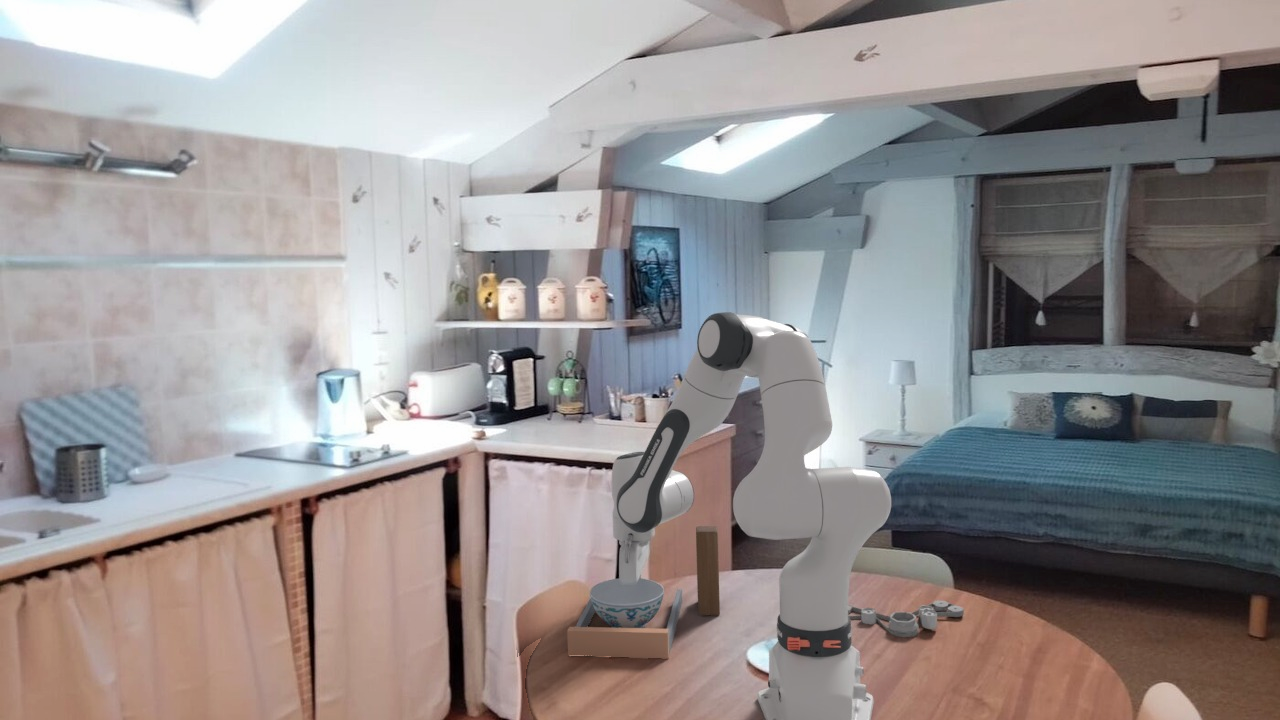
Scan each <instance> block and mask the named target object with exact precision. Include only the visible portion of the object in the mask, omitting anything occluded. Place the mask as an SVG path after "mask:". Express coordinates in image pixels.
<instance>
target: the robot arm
mask: <svg viewBox="0 0 1280 720" xmlns="http://www.w3.org/2000/svg"><path fill="white" fill-rule="evenodd" d="M696 341H697V342H696V343H697V347H696V348H697V349H696V350H695V351H694V354H693V356H692V358H691V360H690V362H689V363H688V366H687V368H686V371H685V374H684V375H683V379H682V381H681V383H680V385H679V387H678V390H677V391H676V394H675V396H674V398H673V400H672V403H671V404H670V406H669V408H668V409H667V411H666V412H665V414H664V416H663V417H662V419H661V421H660V423H659V424H658V426H657V427H656V429H655V431H654V433H653V434H652V437H651V439H650V441H649V442H648V445H647V446H646V448H645V450H644V451H634V452H629V453H626V454H622V455H619V456H618V457H616V458H615V459H614V461H613V464H612V470H611V496H612V499H613V510H612V534H613V535H612V536H613V539H616V540H618V541H619V545H620V548H619V552H618V553H619V555H618V575H619V576H618V578H619V580H620V584H622V585H636V584H637V582H638V580H639V578H642V572H643V570H644V568H645V565H646V563H647V561H648V558H649V556H650V552H651V539H652V538H654V537H655V535H656V531H655V528H656V527H658V526H659V525H661V524H663V523H664V524H665V523H666V522H669V521H671V520H673V519H675V518H677V517H680V516H682V515H684V514H685V513H687V512H689V510H690V509H691V508H692V507H693V505H694V501H695V490H694V487H693V484H692V482H691V480H690V478H689V477H688V476H687V475H686V474H685V473H683V472H681V471H678V470H673V469H674V467H675V465H676V463H677V461H678V459H679V457H680V456H681V455H682V453H683V452H684V451H685V450H686V449H687V448H688V447H689V446H691V444H692V443H694V442H695V441H697V440H698V439H700V438H701V437H703V436H705V435H706V434H708V433H710V432H712V431H713V430H715V429H716V428H719V427H720V426H721V425H722V424H723V422H724V421H725V420H726V418H727V417H728V416H729V414H730V413H731V411H732V409H733V407H734V404H735V402H736V400H737V399H738V398H737V397H738V395H739V393H740V390H741V387H742V384H743V381H744V380H745V378H746V377H749V378H754V379H755V378H756V379H758V382H759V391H760V398H761V406H762V412H763V421H764V425H763V426H764V444H763V445H764V446H763V449H762V452H761V455H760V458H759V460H758V462H757V463H756V465H755V466H754V468H753V469H752V470H751V472H749V473H748V474H746V476H745V477H744V478H743V479H742V480H741V481H740V482H739V484H738V485H737V487H736V489H735V491H734V495H733V500H732V509H733V510H732V511H733V515H734V518H735V520H736V523H737V525H738V527H739V528H740V529H741V530H742V531H743V532H744V533H745V534H746V535H747V536H749V537H753V538H758V539H759V538H760V539H765V540H775V541H777V540H779V541H780V540H791V539H793V540H794V539H805V538H811V540H810V542H809V544H808V545H807V547H806V548H805V549H804V550H802V551H801V553H799V554H797V555H796V556H794V557H793V558H791V559H789V560H788V561H787V562H786V563H785V565H784V566H783V568H782V569H781V571H780V573H779V574H780V575H779V578H778V579H779V583H778V584H779V585H778V586H779V589H778V590H779V592H778V593H779V614H778V616H777V618H776V619H777V622H776V632H777V635H776V636H777V641H776V643H775V644H774V645H773V646H772V647H771V648H770V649H769V650H768V681H767V686H768V687H767V688H764V689H761V690H759V691H758V693H757V701H758V703H759V707H760V708H761V712H762V713H763V717H764V719H765V720H872V716H873V715H872V714H873V710H874V709H873V708H874V704H875V702H874V696H873V695H872V694H870V693H869V692H867V684H864V683H861V677H863V676H864V667H863V666H861V663H860V662H861V660H860V659H861V657H860V655H861V654H860V651H859V650H858V649H857V648H856V647H854V646H853V645H852V641H853V640H852V635H853V628H852V623H851V622H852V621H851V620H852V619H850V618H849V617H848V616H849V614H848V605H849V594H850V593H849V590H850V578H851V573H852V572H851V571H852V569H853V566H854V563H855V560H856V558H857V556H858V554H859V552H860V550H861V549H862V547H863V546H864V545H865V543H866V542H867V540H869V538H870V537H871V536H872V535H873V534H874V533H876V532H877V531H878V530H879V529H880V528H882V527H883V526H884V525H885V523H887V520H888V518H889V516H890V513H891V508H892V496H891V491H890V488H889V485H888V484H887V482H886V480H885V479H884V478H883V477H882V476H881V474H879V472H877V471H876V470H873V469H872V470H871V469H866V468H860V467H851V466H842V467H838V466H837V467H823V468H821V467H820V468H807V467H806V464H805V456H806V455H808V454H809V453H810V452H813V451H814V450H817V449H818V448H819V447H821V446H822V445H823V444H825V442H827V441H828V439H829V437H830V436H831V433H832V431H833V420H832V414H831V409H830V403H829V397H828V393H827V387H826V383H825V378H824V375H823V370H822V367H821V364H820V360H819V358H818V354H817V353H816V350H815V347H814V346H813V342H812V341H811V339H810V338H809V336H808V335H807V333H806V332H804V331H803V330H802V329H800V328H798V327H797V326H795V325H792V324H788V323H780V322H778V321H775V320H771V319H767V318H764V317H762V316H757V315H749V314H737V313H736V314H735V313H734V312H717V313H716V312H715V313H713V314H711V315H709V316H708V317H706V319H705V320H704V321H703V323H702V324H701V326H700V328H699V331H698V335H697V340H696Z"/></svg>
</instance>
